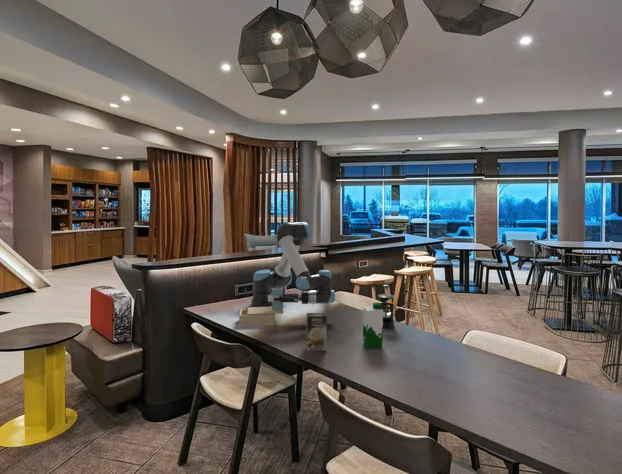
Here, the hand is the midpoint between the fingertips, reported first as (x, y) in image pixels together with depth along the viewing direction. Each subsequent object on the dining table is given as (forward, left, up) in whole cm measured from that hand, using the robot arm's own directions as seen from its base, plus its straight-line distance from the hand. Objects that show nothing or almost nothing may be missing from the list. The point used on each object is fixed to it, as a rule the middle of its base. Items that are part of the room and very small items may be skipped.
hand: (268, 298), depth 211 cm
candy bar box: (-57, -39, -14) cm, 70 cm away
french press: (-30, +59, -14) cm, 68 cm away
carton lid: (+1, -1, -7) cm, 7 cm away
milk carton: (+2, +66, -14) cm, 68 cm away
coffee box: (+20, +46, -14) cm, 52 cm away
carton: (+4, -5, -14) cm, 15 cm away
